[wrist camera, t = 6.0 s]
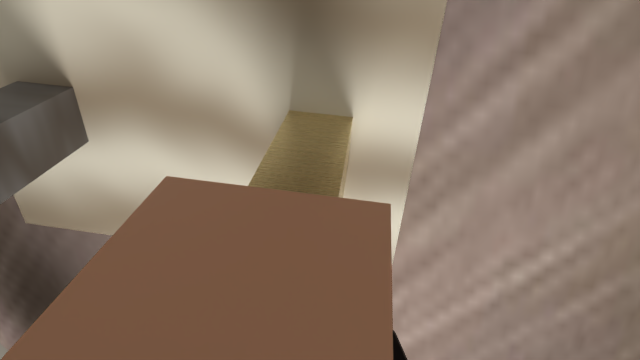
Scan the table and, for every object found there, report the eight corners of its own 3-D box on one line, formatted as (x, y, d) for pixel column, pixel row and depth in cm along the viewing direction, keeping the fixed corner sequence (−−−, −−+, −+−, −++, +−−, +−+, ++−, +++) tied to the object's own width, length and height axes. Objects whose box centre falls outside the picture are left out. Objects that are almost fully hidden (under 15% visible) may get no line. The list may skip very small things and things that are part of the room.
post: (347, 172, 17) (326, 297, 11) (288, 165, 18) (238, 283, 12) (353, 117, 16) (332, 226, 10) (289, 110, 16) (232, 213, 10)
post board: (389, 261, 21) (391, 417, 14) (38, 212, 23) (-107, 330, 16) (451, -43, 13) (515, -16, 7) (-80, -80, 15) (-448, -87, 9)
